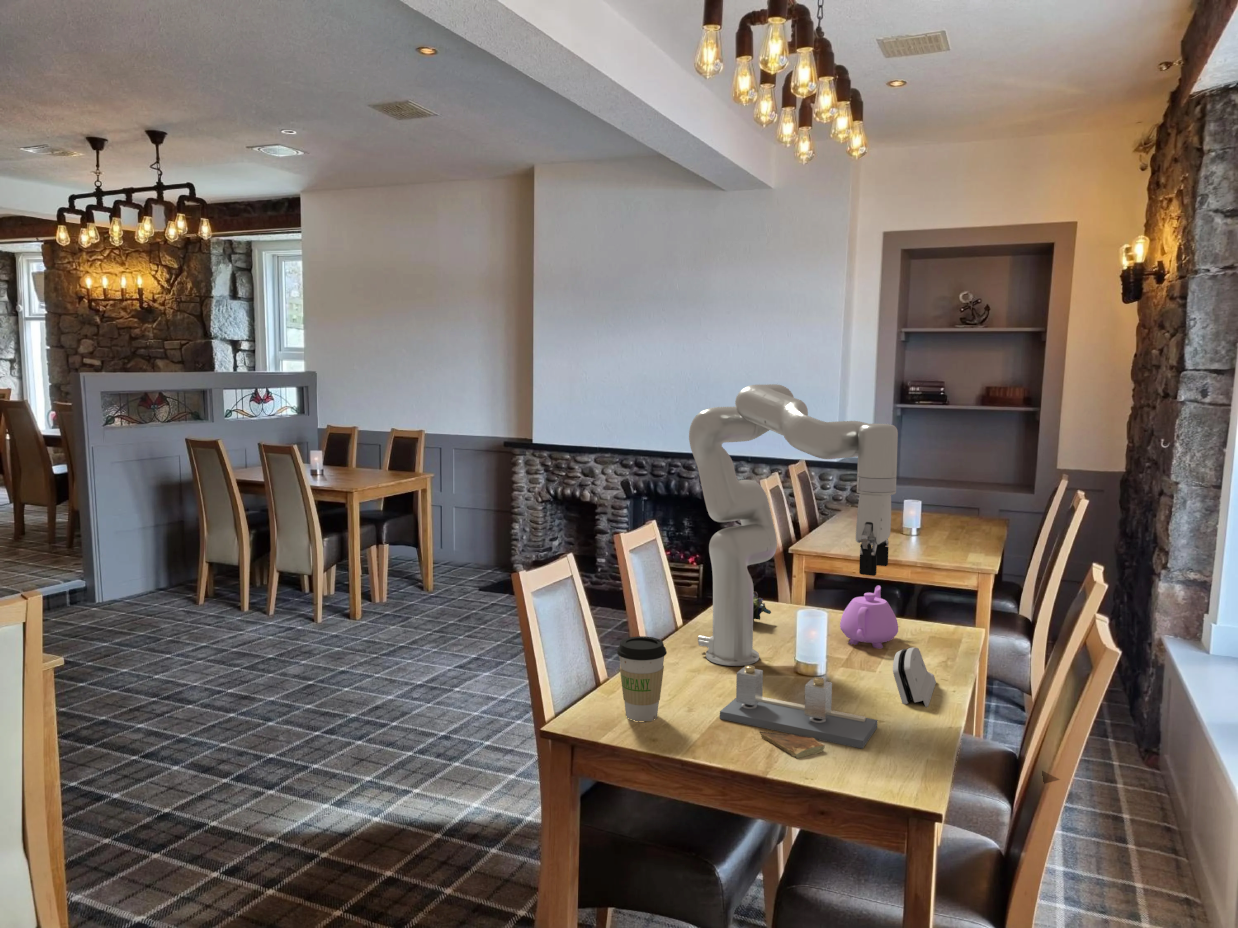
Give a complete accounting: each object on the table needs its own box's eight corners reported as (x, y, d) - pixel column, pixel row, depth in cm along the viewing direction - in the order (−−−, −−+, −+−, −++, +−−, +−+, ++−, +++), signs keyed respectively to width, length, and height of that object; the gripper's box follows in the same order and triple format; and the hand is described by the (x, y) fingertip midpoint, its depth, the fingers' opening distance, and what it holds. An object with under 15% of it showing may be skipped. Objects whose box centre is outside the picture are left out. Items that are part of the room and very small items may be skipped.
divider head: (804, 718, 168) (805, 679, 167) (810, 711, 171) (811, 673, 170) (825, 722, 166) (825, 683, 165) (831, 715, 169) (832, 677, 168)
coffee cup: (609, 711, 177) (609, 638, 175) (653, 703, 180) (653, 632, 179) (629, 729, 168) (629, 653, 166) (674, 721, 171) (675, 646, 170)
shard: (759, 738, 164) (759, 729, 164) (791, 731, 168) (792, 722, 168) (795, 761, 155) (795, 751, 155) (829, 753, 158) (829, 743, 158)
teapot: (851, 626, 235) (852, 581, 234) (906, 634, 228) (907, 587, 227) (830, 647, 218) (831, 598, 216) (889, 656, 211) (890, 605, 209)
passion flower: (750, 640, 241) (777, 606, 240) (742, 644, 231) (770, 608, 229) (718, 613, 245) (745, 580, 243) (709, 616, 235) (737, 581, 233)
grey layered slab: (927, 707, 178) (912, 660, 179) (904, 711, 180) (889, 664, 181) (936, 681, 193) (921, 638, 194) (914, 685, 195) (900, 642, 196)
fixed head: (736, 704, 175) (736, 667, 174) (743, 698, 178) (744, 662, 177) (755, 708, 173) (755, 671, 172) (762, 702, 176) (762, 665, 175)
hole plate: (719, 718, 173) (719, 708, 172) (740, 700, 182) (740, 691, 182) (862, 748, 159) (862, 737, 159) (877, 727, 168) (877, 717, 168)
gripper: (868, 479, 184) (866, 560, 186) (845, 489, 169) (843, 576, 171) (905, 482, 180) (902, 563, 182) (885, 492, 165) (882, 580, 167)
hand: (873, 569), depth 176 cm, fingers open, 9 cm apart
